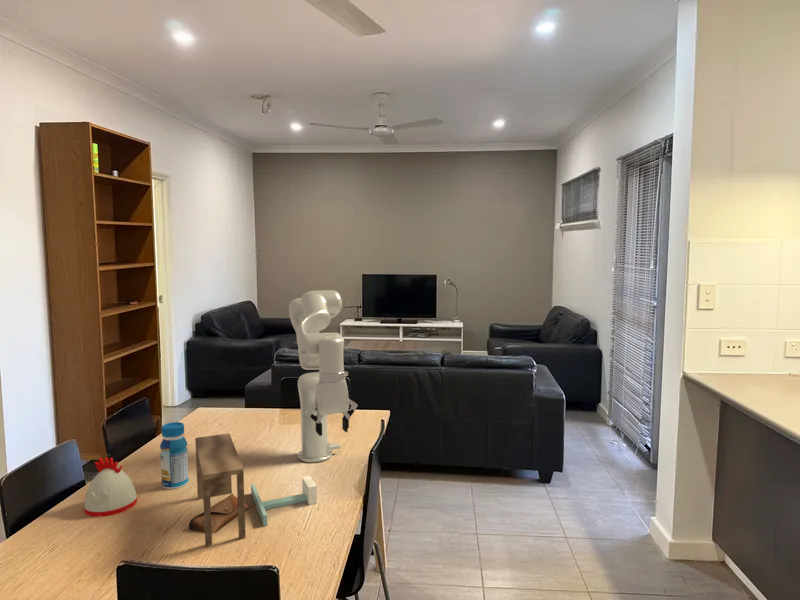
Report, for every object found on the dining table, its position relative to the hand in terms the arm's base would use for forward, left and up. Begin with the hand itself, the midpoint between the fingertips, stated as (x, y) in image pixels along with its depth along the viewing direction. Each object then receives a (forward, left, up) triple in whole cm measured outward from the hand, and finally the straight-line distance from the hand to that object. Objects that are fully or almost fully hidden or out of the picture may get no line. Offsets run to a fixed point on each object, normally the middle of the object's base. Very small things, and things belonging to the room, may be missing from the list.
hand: (332, 432), depth 165 cm
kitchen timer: (+63, -21, -20) cm, 69 cm away
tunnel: (+34, 0, -20) cm, 39 cm away
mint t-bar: (+15, 0, -20) cm, 25 cm away
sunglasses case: (+33, +1, -21) cm, 39 cm away
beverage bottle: (+45, -29, -20) cm, 57 cm away
